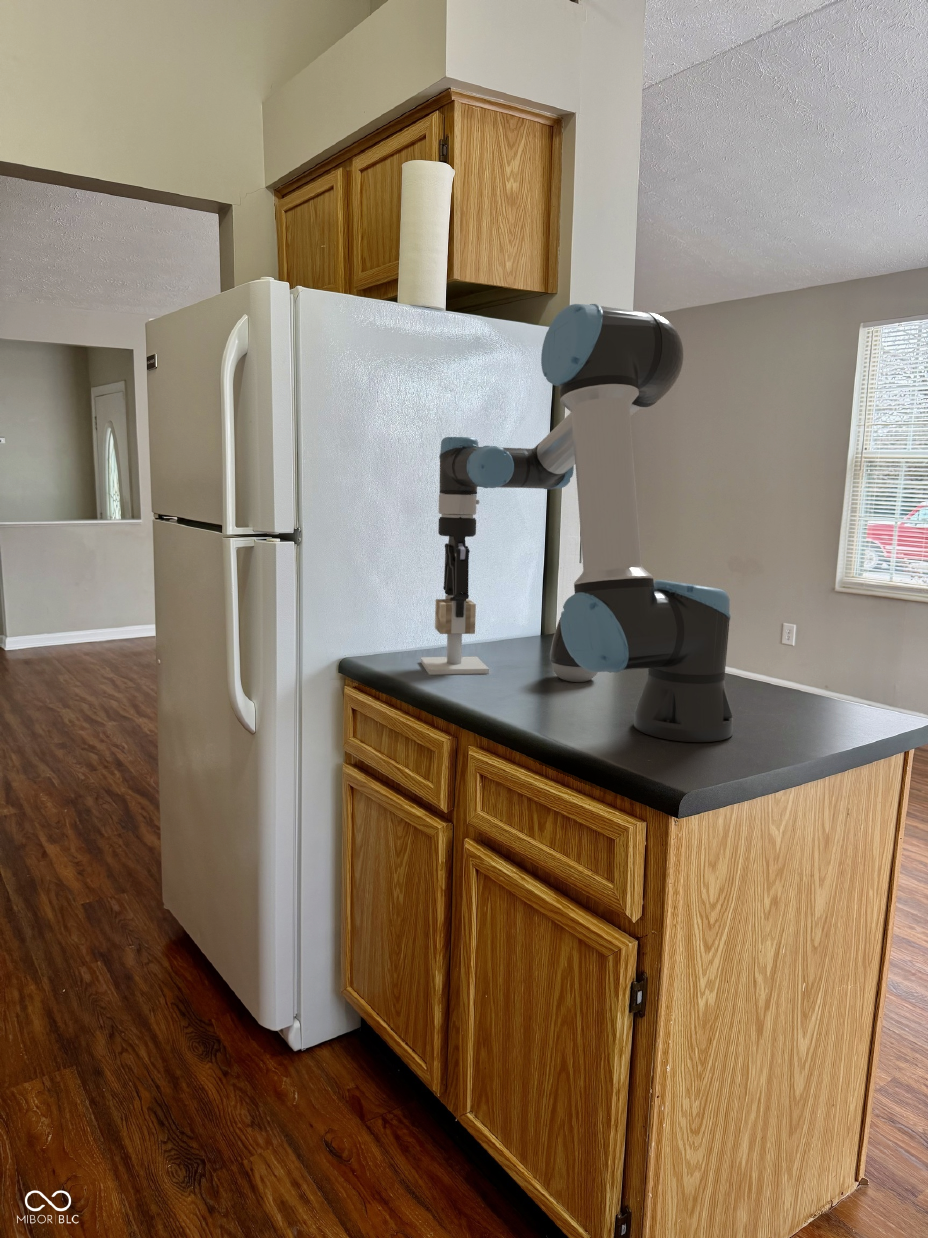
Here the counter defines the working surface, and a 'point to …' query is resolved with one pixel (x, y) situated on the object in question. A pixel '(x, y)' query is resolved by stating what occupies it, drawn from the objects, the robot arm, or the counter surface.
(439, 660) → the post fixture
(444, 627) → the collar
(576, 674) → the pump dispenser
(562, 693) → the counter surface
